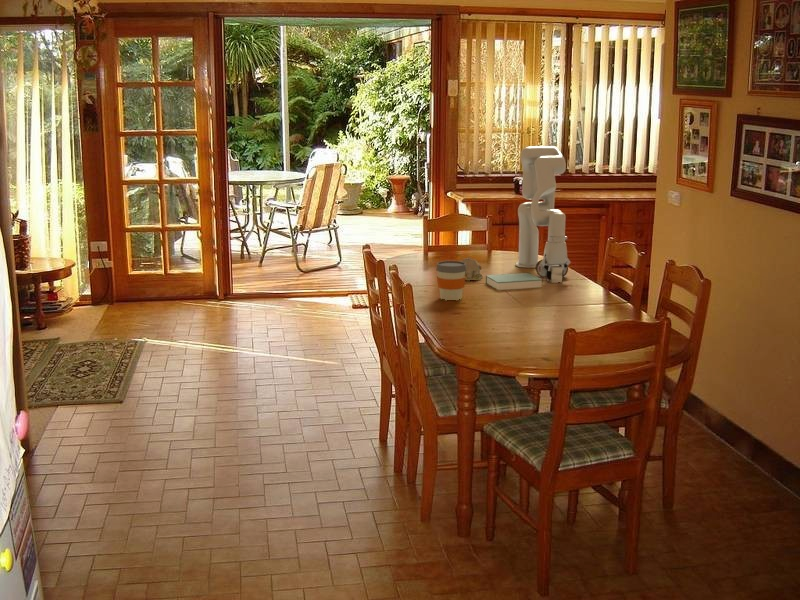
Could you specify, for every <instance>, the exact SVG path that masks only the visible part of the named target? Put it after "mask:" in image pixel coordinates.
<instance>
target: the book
mask: <svg viewBox="0 0 800 600" xmlns="http://www.w3.org/2000/svg"><path fill="white" fill-rule="evenodd" d="M542 282H543V279H542V278H540V277H538V276H537V275H534V274H532V273H530V272H520V273H505V274H488V275H485V284H486V283H487V284H486V285H488V286H489V285H490V287H491V286H492V287H491V288H493V289H494V288H495V290H496V289H497V290H496V291H510V290H511V289H512V290H525V289H540V287H542ZM512 290H511V291H512Z"/></svg>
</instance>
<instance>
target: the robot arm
mask: <svg viewBox="0 0 800 600" xmlns="http://www.w3.org/2000/svg"><path fill="white" fill-rule="evenodd" d="M519 158H520V162H521V163H520V165H521V167H522V168H521V169H522V188H521V192H522V193H521V195H522V198H523V199H525V200H530V201H526V202H523V203H520V204H519V206H518V208H517V215H518V225H519V227H518V232H519V233H518V257H517V258H518V261H516V262H515V264H514V265H515V266H516V267H518V268H522V269H523V268H524V269H526V268H527V269H534V268H535V269H536V264H537V263H538V261H539V238H540V237H539V236H540V235H539V233H540V232H539V227H548V228H547V241H546V242H545V245H544V250H543V257H542V259H543V260H542V259H541V260H542V261H541V262H540V264H541V265H542V266H543V267H544V268H545V269H546V270H547V272H546V277H545V278H546V279H549V280H551V271H550V270H551V266H552V265H556V264H559V266H561V267H563V270H562V280H563V278H564V277H563V271H564V270H565V268H566V267H567V265H568V266H569V265H570V264H571V263H572V261H571V260H570V259H569V258H568V248H567V243H566V240H568V236H566V233H565V232H566V220H567V219H566V214H565V213H564V212H562V210H560V209H555V200H556V197H555V196H556V189H557V183H556V175H562V174H564V173H565V172H566V168H567V163H566V159H565V157H564V155H563V154H562V152H561V151H560V150H559V149H558V147H556V146H555V145H554V146H553V145H551V146H549V145H547V146H546V145H545V146H542V145H535V146H527V147H524V148H522V150H521V152H520V157H519ZM540 200H543V201H540ZM544 263H547V265H545V264H544Z"/></svg>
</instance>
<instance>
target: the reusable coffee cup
mask: <svg viewBox="0 0 800 600" xmlns="http://www.w3.org/2000/svg"><path fill="white" fill-rule="evenodd" d="M460 261H461V260H443V261H438V262H437V264H436V271H437V276H436V279H437V281H436V282H437V287H438V288H439V296H440V297H439V298H440V300H442V299H445V300H444V301H447V300H456V301H460V300H462V299H461V298H463V291H464V288H465V284H466V280H465V271H466V263H464V262H460ZM459 299H460V300H459Z"/></svg>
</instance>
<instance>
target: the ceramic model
mask: <svg viewBox="0 0 800 600" xmlns="http://www.w3.org/2000/svg"><path fill="white" fill-rule="evenodd" d="M459 261H460V262H464V263H466V271H465V281H470V280H478V281H481V280H482V279H483V274H482V273H481V270H482V268H483V267H482V265H481V264H480V263H479V262H478V261H477V260H476V259H473V258H471V257H470V256H467V258H465V257H463V258H462V259H461V260H459ZM481 278H482V279H481Z"/></svg>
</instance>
